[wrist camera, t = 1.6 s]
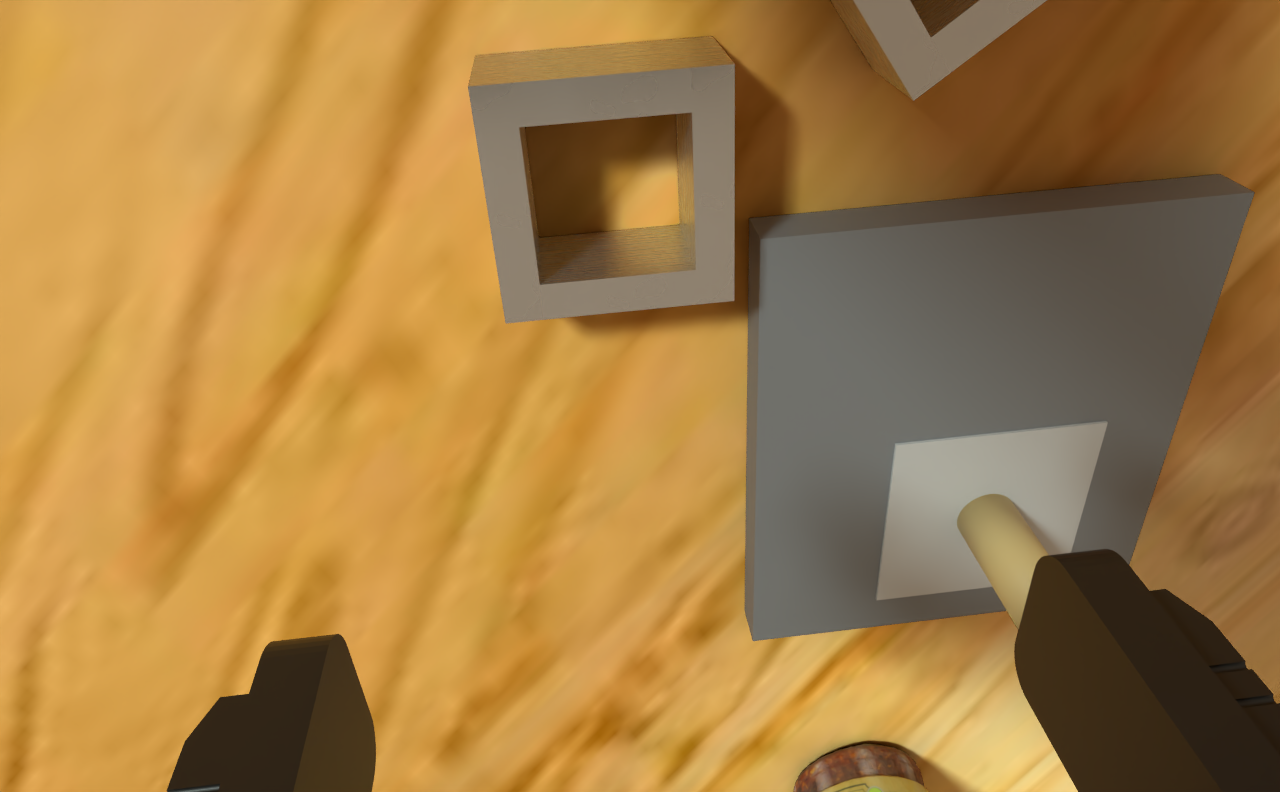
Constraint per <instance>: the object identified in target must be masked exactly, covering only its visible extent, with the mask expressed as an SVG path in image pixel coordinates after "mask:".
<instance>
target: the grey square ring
mask: <svg viewBox="0 0 1280 792" xmlns="http://www.w3.org/2000/svg"><path fill="white" fill-rule="evenodd" d="M468 89H469V96H470V102H471V108H472V114H473V121H474V127H475V133H476V140H477V146H478V152H479V158H480V165H481V171H482V177H483V184H484V190H485V196H486V202H487V209H488V215H489V221H490V228H491V234H492V240H493V246H494V253H495V259H496V265H497V272H498V278H499V284H500V290H501V297H502V303H503V309H504V316H505V322H506V323H515V322H525V321H535V320H545V319H555V318H565V317H576V316H586V315H596V314H606V313H616V312H626V311H636V310H647V309H657V308H667V307H677V306H687V305H697V304H707V303H718V302H728V301H734V260H735V64H734V62H733V61H732V60H731V59H730V57H729V56H728V55H727V54H726V52H725V51H724V50H723V49H722V47H721V46H720V45H719V44H718V42H717V41H716V40H715V39H714V37H713V36H707V37H695V38H683V39H671V40H659V41H647V42H635V43H622V44H610V45H598V46H586V47H574V48H562V49H550V50H538V51H525V52H513V53H501V54H489V55H477V56H475V58H474V63H473V67H472V71H471V76H470V80H469V85H468ZM669 114H676V131H677V160H678V189H679V218H680V225H670V226H660V227H649V228H638V229H628V230H617V231H606V232H596V233H585V234H574V235H564V236H553V237H542V238H539V235H538V227H537V219H536V211H535V203H534V196H533V188H532V180H531V172H530V164H529V157H528V149H527V141H526V133H525V127H531V126H542V125H554V124H565V123H577V122H588V121H600V120H611V119H623V118H634V117H646V116H657V115H669Z"/></svg>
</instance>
